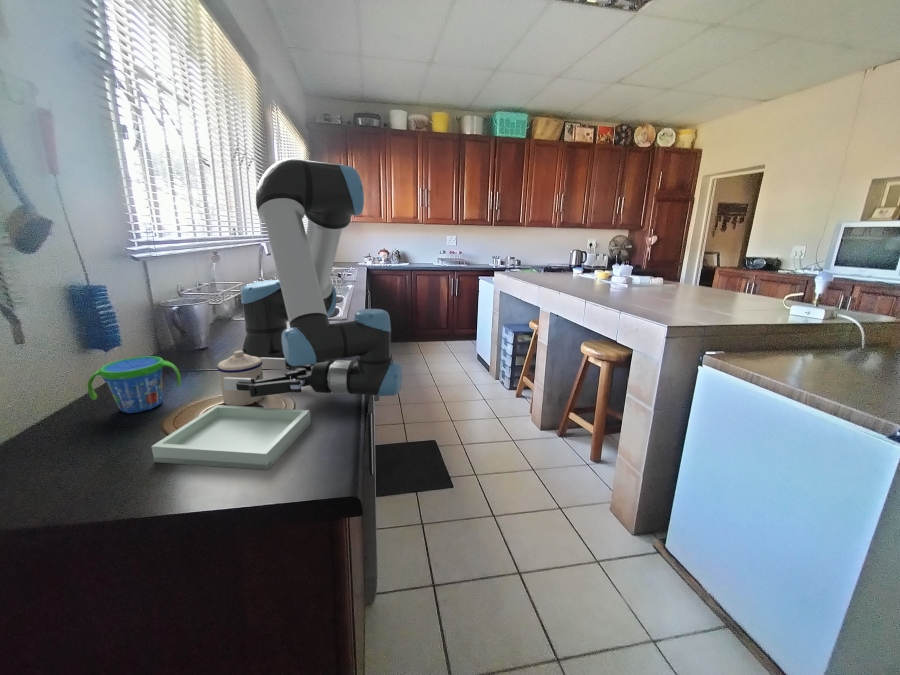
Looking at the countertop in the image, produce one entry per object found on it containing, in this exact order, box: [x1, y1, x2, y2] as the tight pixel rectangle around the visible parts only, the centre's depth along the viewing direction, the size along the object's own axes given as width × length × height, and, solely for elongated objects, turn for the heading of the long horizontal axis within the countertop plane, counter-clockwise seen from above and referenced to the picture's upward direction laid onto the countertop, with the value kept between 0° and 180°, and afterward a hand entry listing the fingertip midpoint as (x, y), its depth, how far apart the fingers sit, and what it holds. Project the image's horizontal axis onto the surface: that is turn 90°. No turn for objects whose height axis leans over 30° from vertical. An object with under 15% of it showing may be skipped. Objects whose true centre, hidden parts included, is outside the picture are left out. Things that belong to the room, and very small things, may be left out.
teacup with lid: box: [216, 350, 265, 407], centre depth 88 cm, size 12×9×12 cm
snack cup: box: [87, 355, 182, 414], centre depth 82 cm, size 16×10×10 cm
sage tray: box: [150, 404, 311, 471], centre depth 70 cm, size 16×20×3 cm
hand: (244, 372), depth 87 cm, fingers open, 13 cm apart
